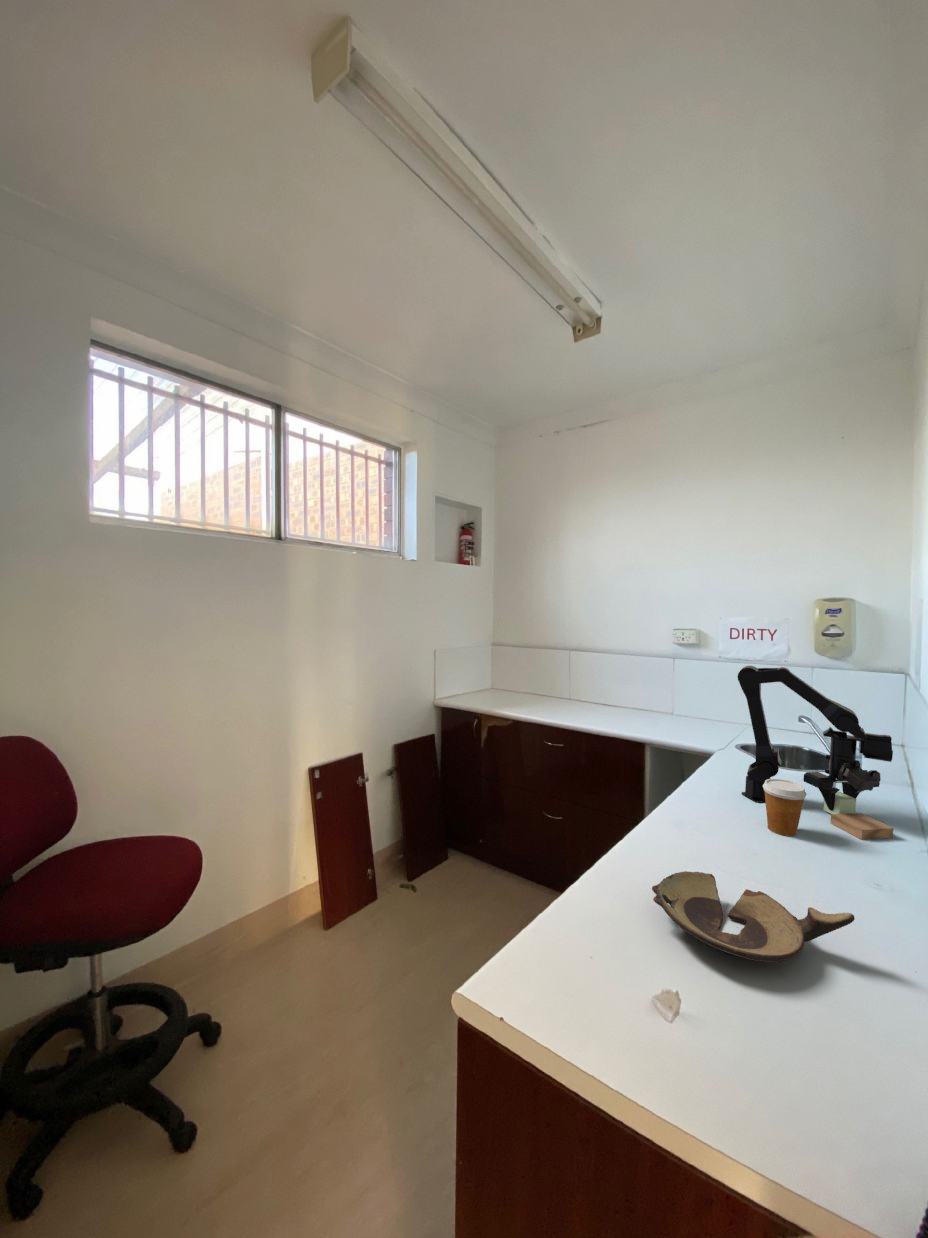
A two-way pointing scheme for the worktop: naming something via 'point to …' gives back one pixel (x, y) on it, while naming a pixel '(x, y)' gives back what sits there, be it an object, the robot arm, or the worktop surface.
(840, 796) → the sage block
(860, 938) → the worktop surface
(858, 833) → the walnut base
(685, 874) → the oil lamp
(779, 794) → the disposable coffee cup
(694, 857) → the worktop surface
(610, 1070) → the worktop surface
